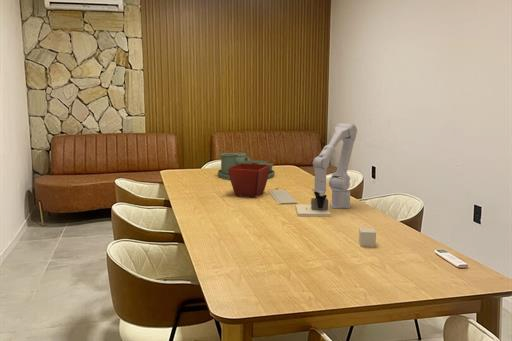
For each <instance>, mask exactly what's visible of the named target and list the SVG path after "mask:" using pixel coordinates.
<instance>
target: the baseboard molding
mask: <svg viewBox="0 0 512 341" xmlns="http://www.w3.org/2000/svg"><path fill="white" fill-rule="evenodd" d="M268 193H269V194H270V196H271V197H272V198H273V200H274V201H275V202H276V204H277V205H278V206H279V205H282V206H283V205H298V201H297V200H296V199H295V198H294V197H293V195H292V194H290V192H288V190H286V189H280V188H279V187H277V188H274V189H270V191H269V190H268Z"/></svg>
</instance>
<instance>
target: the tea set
mask: <svg viewBox="0 0 512 341" xmlns="http://www.w3.org/2000/svg"><path fill="white" fill-rule="evenodd" d="M240 163H246V164H262V165H270V168H269V174H268V179H267V180H269V179H273V177H274V176H275V175H276V174H275V170H273V166H274V163H271V162H268V161H266V160H253V161H252V159H251V158H250V157H249V156H247V153H245V152H241V151H238V152H222V153H220V167H221V169H218V171H217V176H218V178H220V179H223V180H226V179H227V180H229V181H231V180H230V176H229V171H228V168H230V167H232V166H235V165H237V164H240Z"/></svg>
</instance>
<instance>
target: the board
mask: <svg viewBox="0 0 512 341" xmlns="http://www.w3.org/2000/svg"><path fill="white" fill-rule="evenodd" d="M294 205H295V211H296V214H297V217H302V218H303V217H306V218H307V217H308V218H309V217H312V218H313V217H316V218H318V217H321V218H322V217H326V218H327V217H328V218H329V217H331V215H332V214H331V211H330V210H329V209H328V210H312V209H311V204H294Z"/></svg>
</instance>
